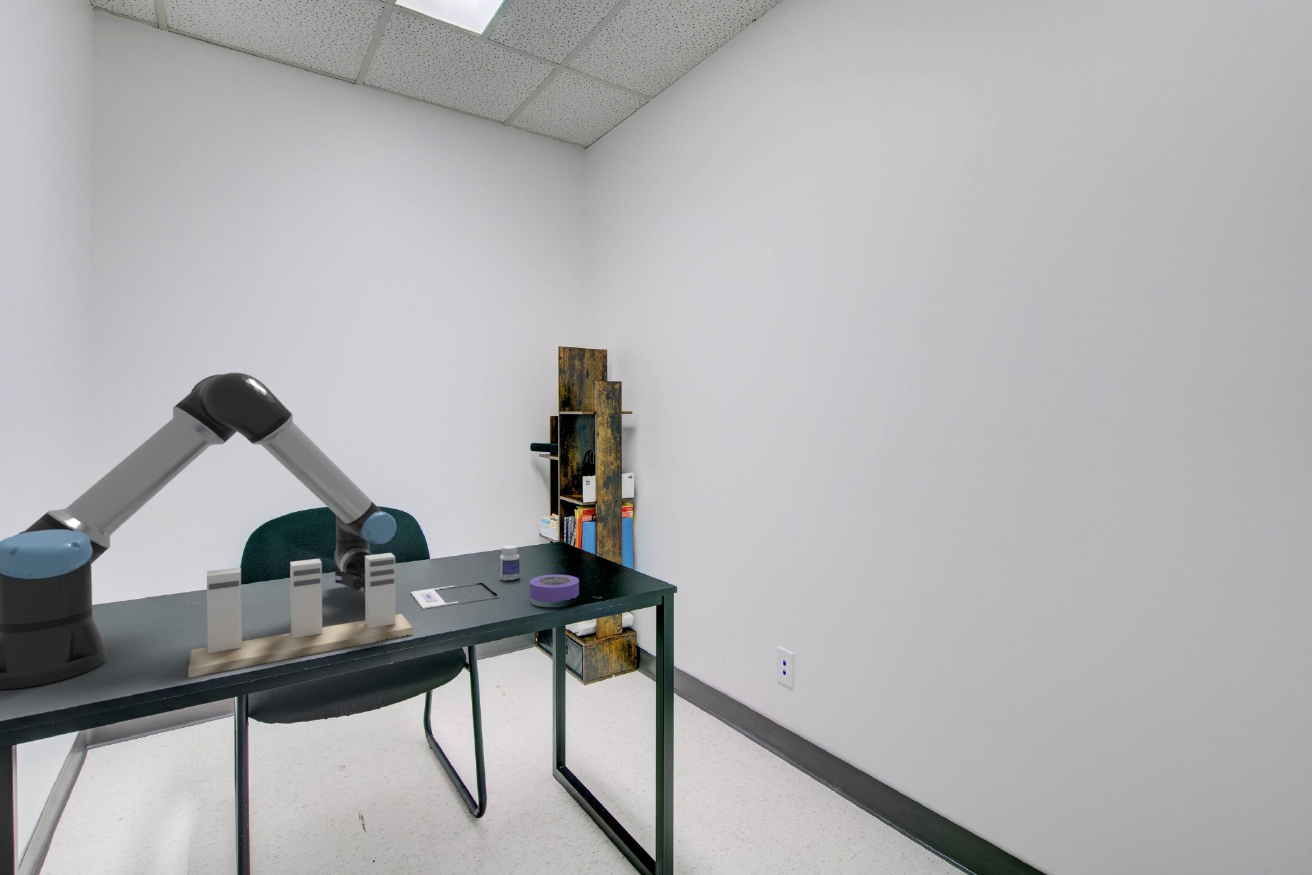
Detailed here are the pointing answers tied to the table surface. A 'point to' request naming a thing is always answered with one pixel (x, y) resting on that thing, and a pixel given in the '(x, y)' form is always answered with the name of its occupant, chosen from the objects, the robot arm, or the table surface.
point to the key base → (293, 646)
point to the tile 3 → (380, 590)
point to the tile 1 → (224, 610)
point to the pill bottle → (509, 562)
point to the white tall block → (306, 597)
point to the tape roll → (554, 588)
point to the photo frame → (429, 598)
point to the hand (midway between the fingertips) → (380, 590)
